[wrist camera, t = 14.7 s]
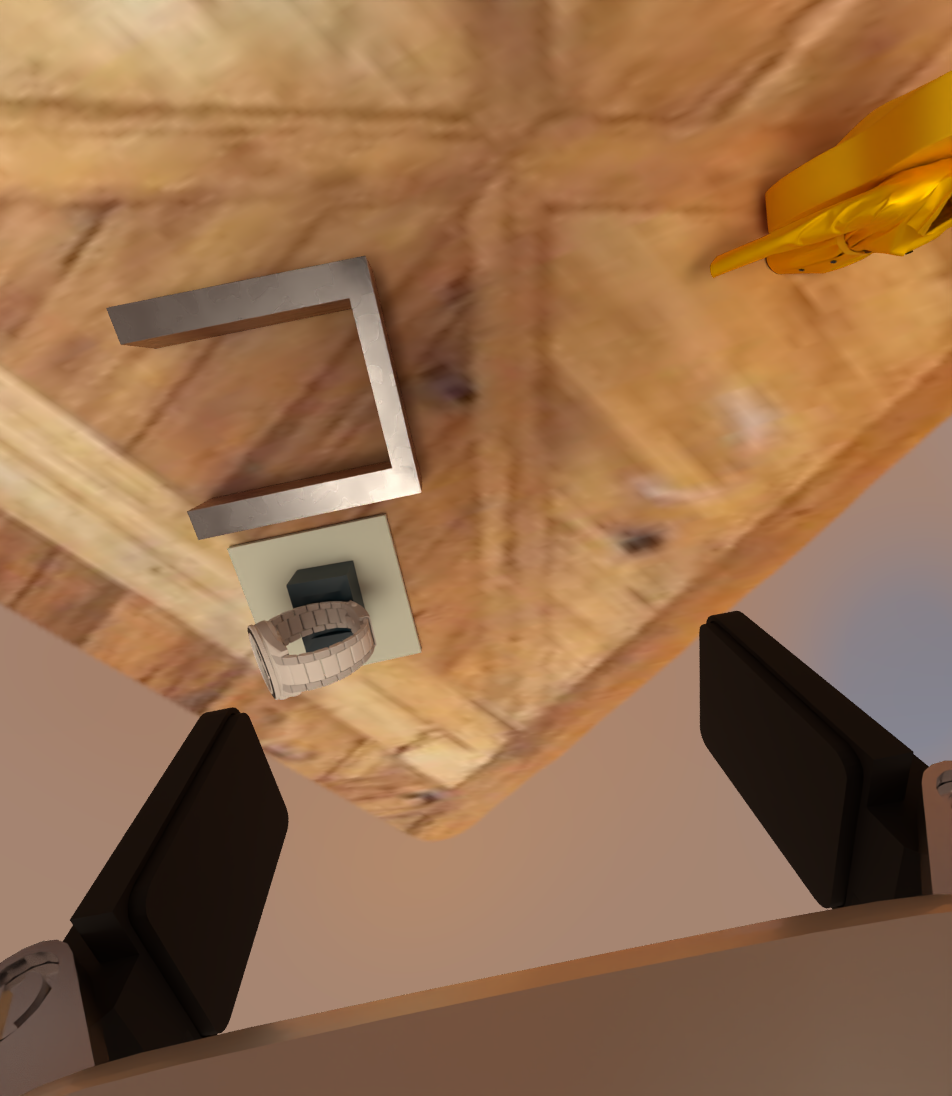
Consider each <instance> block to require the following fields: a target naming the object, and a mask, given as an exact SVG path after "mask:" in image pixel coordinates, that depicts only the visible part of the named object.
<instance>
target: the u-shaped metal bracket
mask: <svg viewBox="0 0 952 1096" xmlns="http://www.w3.org/2000/svg"><path fill="white" fill-rule="evenodd" d="M106 309H107V311H108V314H109V316H110V319H111V321H112V324H113V326H114V329H115V331H116V334H117V336H118V339H119V341H120V344H121V345H129V346H137V347H146V348H154V349H156V348H161V347H166V346H171V345H176V344H181V343H186V342H190V341H195V340H200V339H205V338H210V337H215V336H220V335H225V334H230V333H235V332H240V331H244V330H249V329H254V328H259V327H264V326H269V325H274V324H279V323H284V322H289V321H294V320H298V319H303V318H308V317H313V316H318V315H323V314H328V313H333V312H338V311H343V310H348V309H352V310H353V314H354V318H355V322H356V326H357V330H358V334H359V338H360V342H361V346H362V350H363V354H364V358H365V362H366V366H367V370H368V374H369V378H370V382H371V386H372V390H373V394H374V398H375V402H376V405H377V409H378V413H379V417H380V421H381V425H382V429H383V433H384V437H385V441H386V445H387V449H388V453H389V457H390V461H387V462H382V463H377V464H372V465H368V466H363V467H358V468H353V469H349V470H344V471H339V472H334V473H330V474H325V475H320V476H315V477H311V478H306V479H301V480H296V481H292V482H287V483H282V484H277V485H273V486H268V487H263V488H258V489H254V490H249V491H244V492H239V493H235V494H230V495H225V496H220V497H216V498H212V499H210V500H208V501H206V502H204V503H202V504H200V505H199V506H197V507H195V508H193V509H191V510H189V511H187V512H188V515H189V517H190V520H191V522H192V525H193V527H194V530H195V532H196V535H197V537H198V540H201V539H205V538H210V537H215V536H219V535H224V534H229V533H234V532H238V531H243V530H248V529H252V528H257V527H262V526H267V525H271V524H276V523H281V522H285V521H290V520H295V519H300V518H304V517H309V516H314V515H318V514H323V513H328V512H332V511H337V510H342V509H347V508H351V507H356V506H361V505H365V504H370V503H375V502H380V501H384V500H389V499H394V498H398V497H403V496H408V495H413V494H417V493H421V490H422V479H421V475H420V470H419V466H418V462H417V458H416V453H415V449H414V445H413V441H412V436H411V432H410V428H409V424H408V419H407V415H406V411H405V406H404V402H403V398H402V394H401V389H400V385H399V381H398V377H397V372H396V368H395V364H394V359H393V355H392V351H391V347H390V342H389V338H388V334H387V330H386V325H385V321H384V317H383V313H382V308H381V304H380V300H379V295H378V291H377V287H376V283H375V278H374V274H373V270H372V268H371V266H370V264H369V262H368V260H367V258H366V256H361V257H357V258H352V259H347V260H342V261H337V262H332V263H327V264H322V265H317V266H312V267H307V268H302V269H297V270H292V271H287V272H282V273H277V274H272V275H267V276H262V277H257V278H252V279H247V280H242V281H237V282H233V283H228V284H223V285H218V286H213V287H208V288H203V289H198V290H193V291H188V292H183V293H178V294H173V295H168V296H163V297H158V298H153V299H148V300H143V301H138V302H133V303H128V304H123V305H118V306H113V307H109V308H106Z"/></svg>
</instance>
